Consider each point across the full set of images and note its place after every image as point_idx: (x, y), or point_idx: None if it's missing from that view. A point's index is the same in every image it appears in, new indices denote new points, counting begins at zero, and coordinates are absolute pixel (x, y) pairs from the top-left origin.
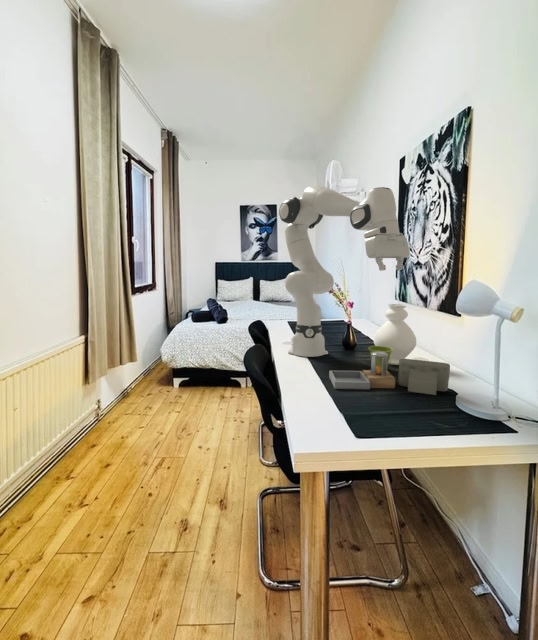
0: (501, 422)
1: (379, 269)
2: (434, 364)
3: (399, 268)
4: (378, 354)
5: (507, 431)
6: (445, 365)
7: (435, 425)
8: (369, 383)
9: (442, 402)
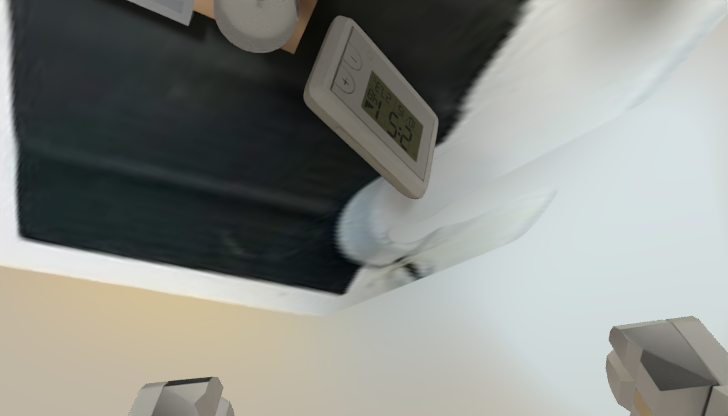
0: (358, 269)
1: (142, 397)
2: (383, 175)
3: (614, 384)
4: (234, 32)
5: (329, 289)
6: (405, 194)
7: (218, 245)
8: (185, 23)
9: (340, 172)
